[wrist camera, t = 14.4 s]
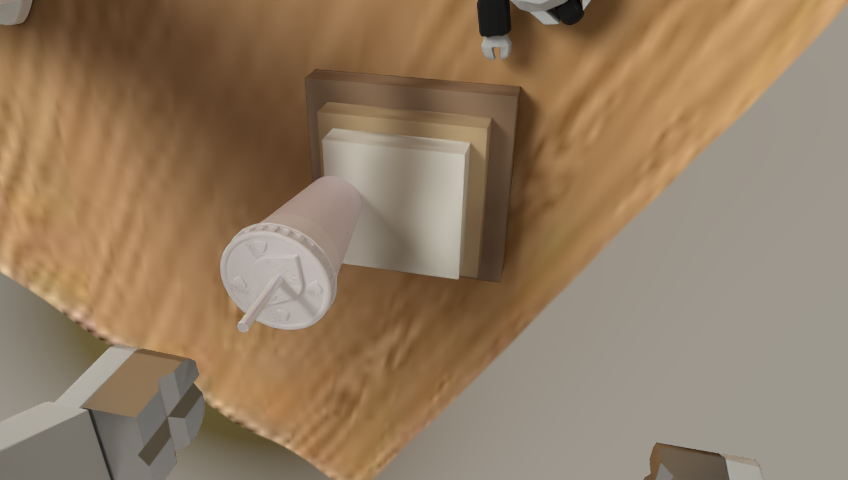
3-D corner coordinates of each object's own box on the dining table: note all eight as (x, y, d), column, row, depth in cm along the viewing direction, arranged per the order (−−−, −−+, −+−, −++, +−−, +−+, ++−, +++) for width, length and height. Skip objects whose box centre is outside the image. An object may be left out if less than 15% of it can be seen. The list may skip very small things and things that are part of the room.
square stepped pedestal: (327, 244, 53) (298, 286, 48) (315, 69, 46) (280, 97, 40) (503, 267, 50) (493, 315, 45) (520, 86, 43) (510, 118, 38)
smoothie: (401, 200, 42) (325, 337, 30) (347, 261, 46) (260, 405, 34) (321, 136, 41) (210, 252, 29) (271, 202, 45) (154, 330, 33)
